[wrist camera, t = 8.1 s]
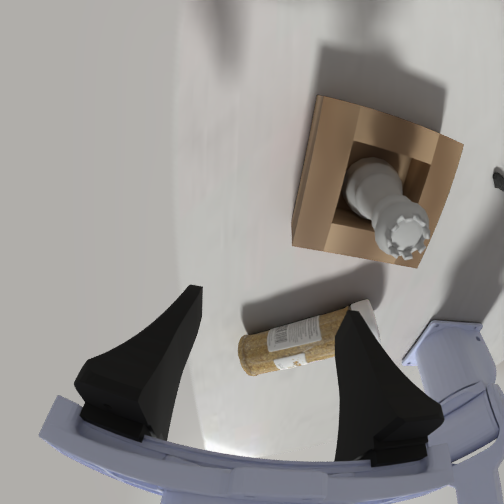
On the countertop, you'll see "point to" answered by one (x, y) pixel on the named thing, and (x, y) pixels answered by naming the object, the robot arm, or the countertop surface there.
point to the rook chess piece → (386, 207)
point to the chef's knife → (498, 181)
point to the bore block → (352, 150)
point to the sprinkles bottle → (298, 341)
